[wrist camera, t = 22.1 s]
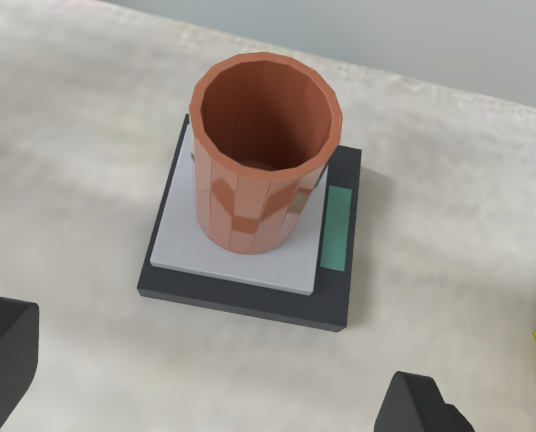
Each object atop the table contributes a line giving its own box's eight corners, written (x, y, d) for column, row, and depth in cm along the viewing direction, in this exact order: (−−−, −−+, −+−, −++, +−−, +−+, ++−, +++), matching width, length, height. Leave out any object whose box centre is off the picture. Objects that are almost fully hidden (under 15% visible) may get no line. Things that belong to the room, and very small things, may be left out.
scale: (140, 295, 29) (134, 284, 27) (187, 128, 35) (185, 104, 32) (338, 332, 30) (351, 324, 27) (353, 163, 35) (366, 142, 33)
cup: (183, 243, 28) (173, 162, 19) (207, 149, 31) (208, 39, 22) (292, 264, 28) (334, 194, 19) (306, 170, 31) (348, 69, 22)
